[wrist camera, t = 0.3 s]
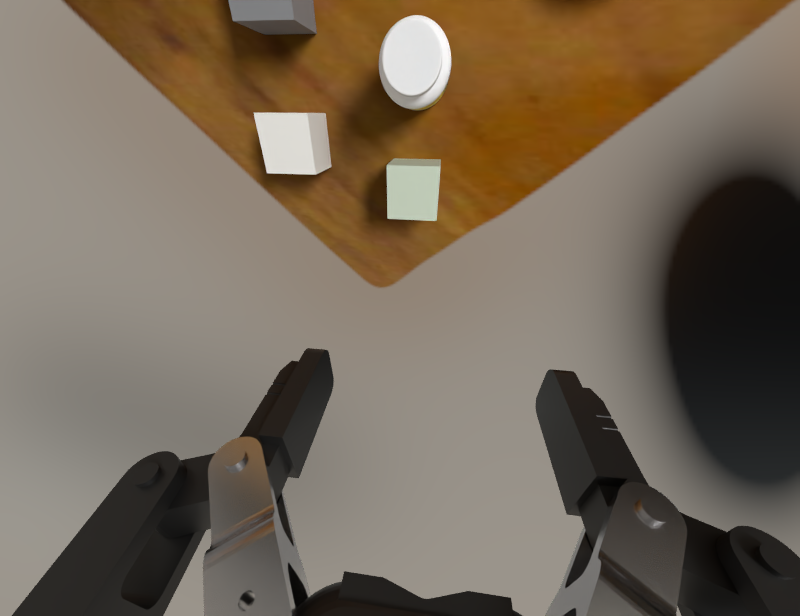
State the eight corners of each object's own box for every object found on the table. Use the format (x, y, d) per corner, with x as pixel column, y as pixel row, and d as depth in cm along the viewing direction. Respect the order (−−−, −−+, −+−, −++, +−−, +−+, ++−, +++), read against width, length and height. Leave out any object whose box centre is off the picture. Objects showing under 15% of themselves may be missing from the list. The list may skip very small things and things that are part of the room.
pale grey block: (279, 112, 31) (253, 112, 26) (325, 113, 30) (307, 113, 26) (288, 165, 33) (267, 173, 29) (331, 166, 33) (315, 174, 29)
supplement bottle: (452, 102, 28) (457, 97, 20) (398, 116, 29) (381, 118, 21) (445, 27, 25) (446, -13, 17) (385, 47, 27) (360, 18, 18)
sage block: (393, 158, 32) (386, 165, 27) (440, 159, 31) (440, 166, 27) (394, 206, 34) (387, 218, 30) (437, 207, 34) (436, 220, 30)
